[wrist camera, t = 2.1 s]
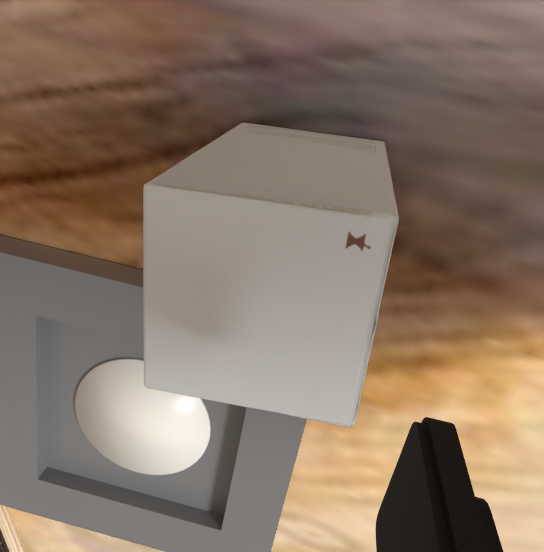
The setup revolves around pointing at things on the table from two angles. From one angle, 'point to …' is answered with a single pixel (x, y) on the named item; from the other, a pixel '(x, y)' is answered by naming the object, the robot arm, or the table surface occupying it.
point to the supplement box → (268, 270)
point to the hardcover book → (8, 533)
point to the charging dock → (123, 419)
